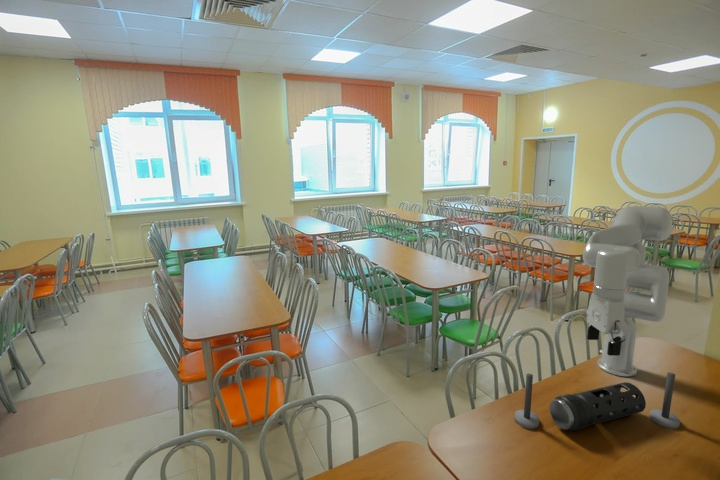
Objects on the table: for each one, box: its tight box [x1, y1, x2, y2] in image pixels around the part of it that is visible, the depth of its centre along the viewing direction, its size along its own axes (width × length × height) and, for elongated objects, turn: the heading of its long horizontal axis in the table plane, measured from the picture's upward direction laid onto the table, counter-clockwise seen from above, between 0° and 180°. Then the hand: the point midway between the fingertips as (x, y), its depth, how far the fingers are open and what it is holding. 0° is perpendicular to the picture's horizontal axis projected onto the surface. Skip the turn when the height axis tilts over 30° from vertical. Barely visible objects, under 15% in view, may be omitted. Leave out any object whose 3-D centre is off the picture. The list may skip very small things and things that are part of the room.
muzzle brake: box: [549, 382, 647, 431], centre depth 111 cm, size 10×28×10 cm, turn 105°
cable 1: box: [514, 373, 540, 430], centre depth 111 cm, size 7×7×16 cm
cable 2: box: [649, 372, 681, 430], centre depth 109 cm, size 7×7×16 cm
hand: (602, 346), depth 107 cm, fingers open, 9 cm apart
